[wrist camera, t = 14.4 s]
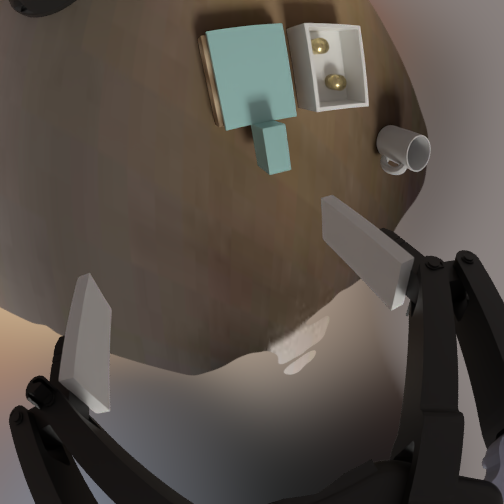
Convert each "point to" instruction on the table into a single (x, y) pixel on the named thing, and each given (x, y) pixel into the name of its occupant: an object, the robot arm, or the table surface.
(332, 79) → the gold round piece
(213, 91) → the wooden block
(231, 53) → the lid
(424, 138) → the cup
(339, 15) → the table surface
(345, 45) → the tub
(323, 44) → the gold metallic ball
